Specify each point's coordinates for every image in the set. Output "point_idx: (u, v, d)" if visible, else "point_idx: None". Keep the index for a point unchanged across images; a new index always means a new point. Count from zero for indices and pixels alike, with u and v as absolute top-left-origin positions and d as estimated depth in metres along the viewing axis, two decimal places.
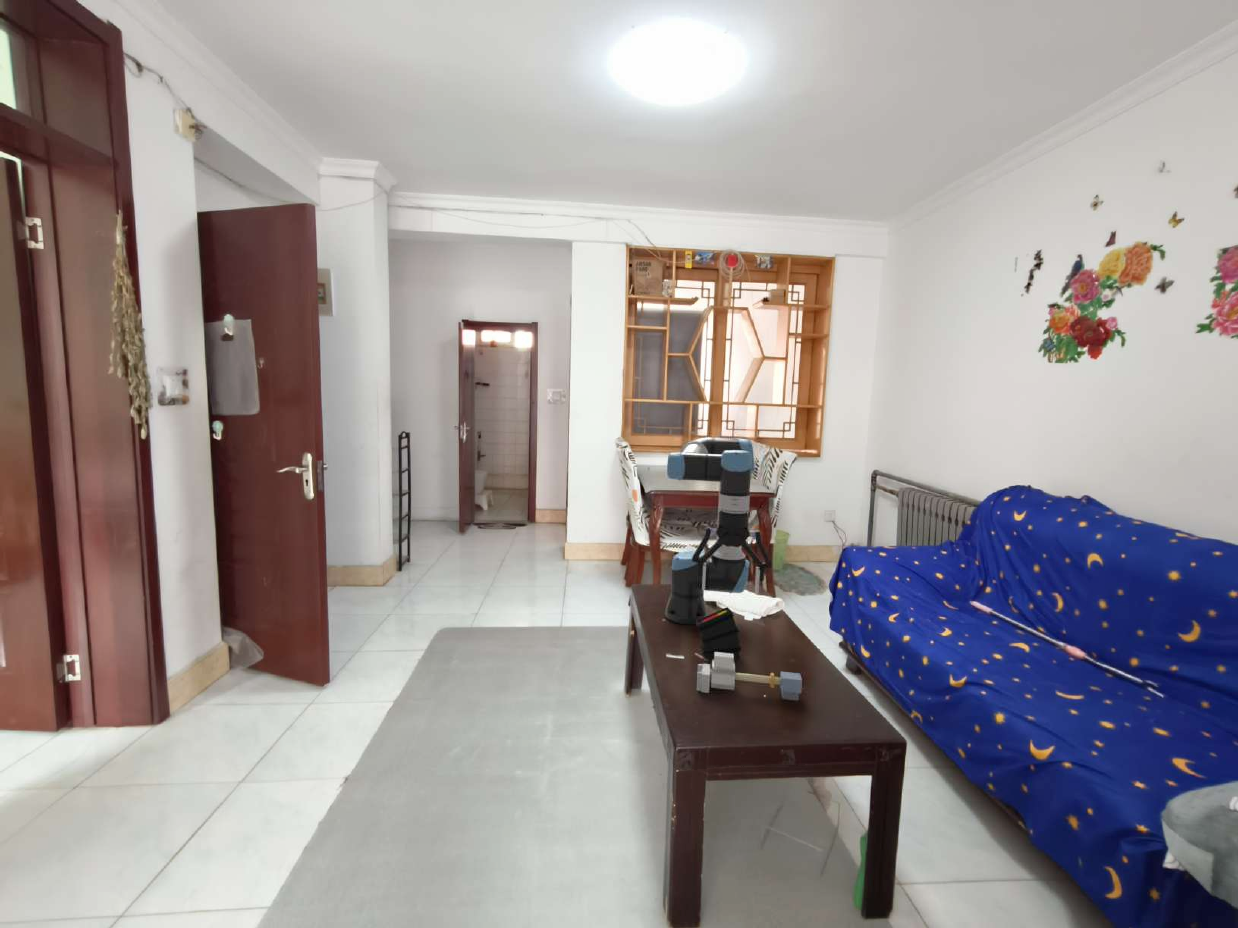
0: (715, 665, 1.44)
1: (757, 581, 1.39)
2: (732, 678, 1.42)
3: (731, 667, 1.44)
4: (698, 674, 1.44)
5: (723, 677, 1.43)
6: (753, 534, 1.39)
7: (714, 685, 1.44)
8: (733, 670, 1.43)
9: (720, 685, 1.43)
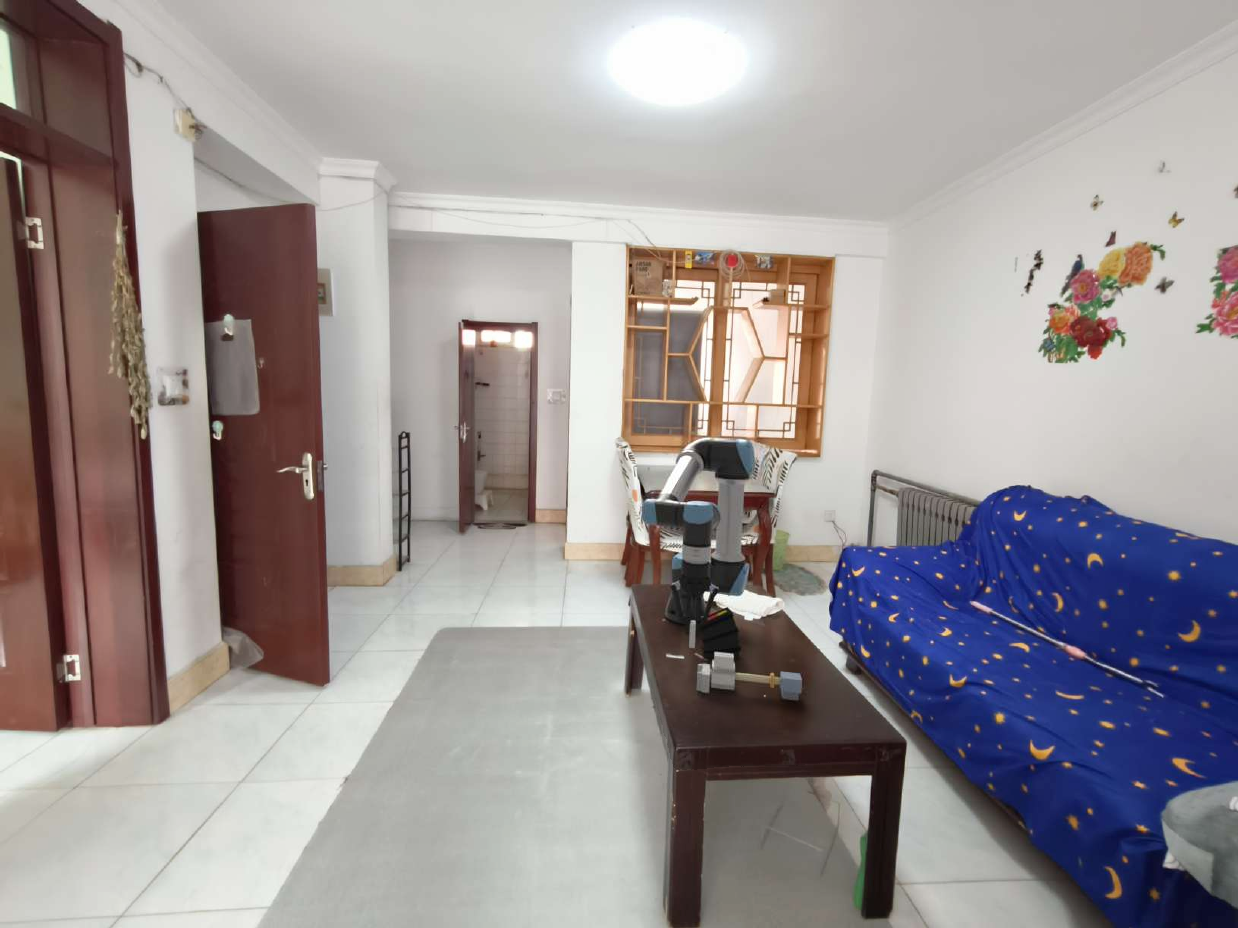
0: (715, 665, 1.44)
1: (693, 635, 1.44)
2: (732, 678, 1.42)
3: (731, 667, 1.44)
4: (698, 674, 1.44)
5: (723, 677, 1.43)
6: (712, 588, 1.43)
7: (714, 685, 1.44)
8: (733, 670, 1.43)
9: (720, 685, 1.43)
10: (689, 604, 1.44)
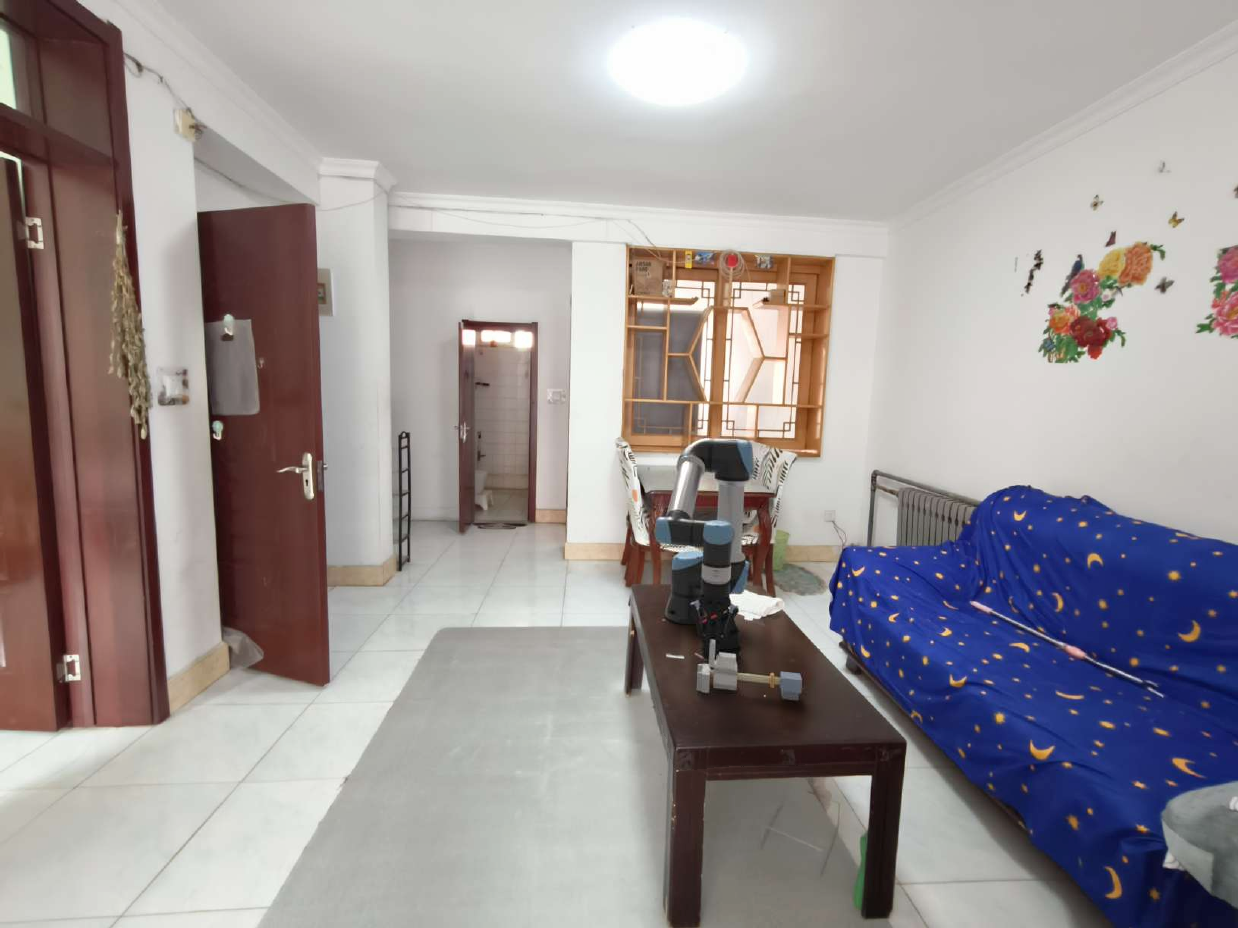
0: (717, 665, 1.44)
1: (713, 654, 1.44)
2: (734, 678, 1.42)
3: (733, 667, 1.44)
4: (698, 674, 1.44)
5: (725, 677, 1.43)
6: (732, 608, 1.43)
7: (717, 685, 1.43)
8: (735, 670, 1.43)
9: (722, 685, 1.43)
10: (709, 624, 1.43)
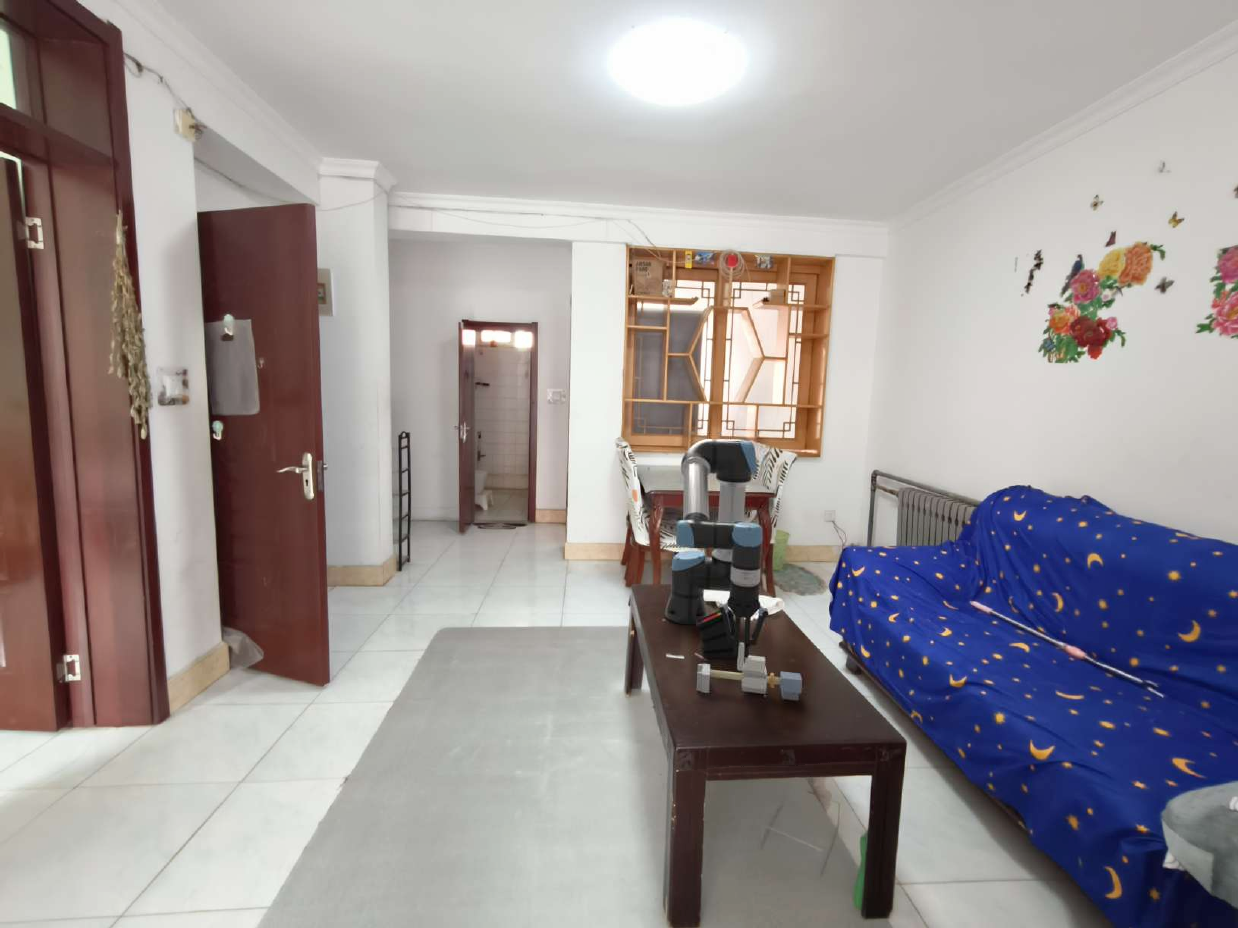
0: (746, 668, 1.43)
1: (742, 658, 1.43)
2: (764, 682, 1.41)
3: (763, 670, 1.42)
4: (698, 674, 1.44)
5: (755, 681, 1.41)
6: (761, 610, 1.41)
7: (746, 689, 1.42)
8: (765, 674, 1.41)
9: (751, 689, 1.42)
10: (738, 627, 1.42)
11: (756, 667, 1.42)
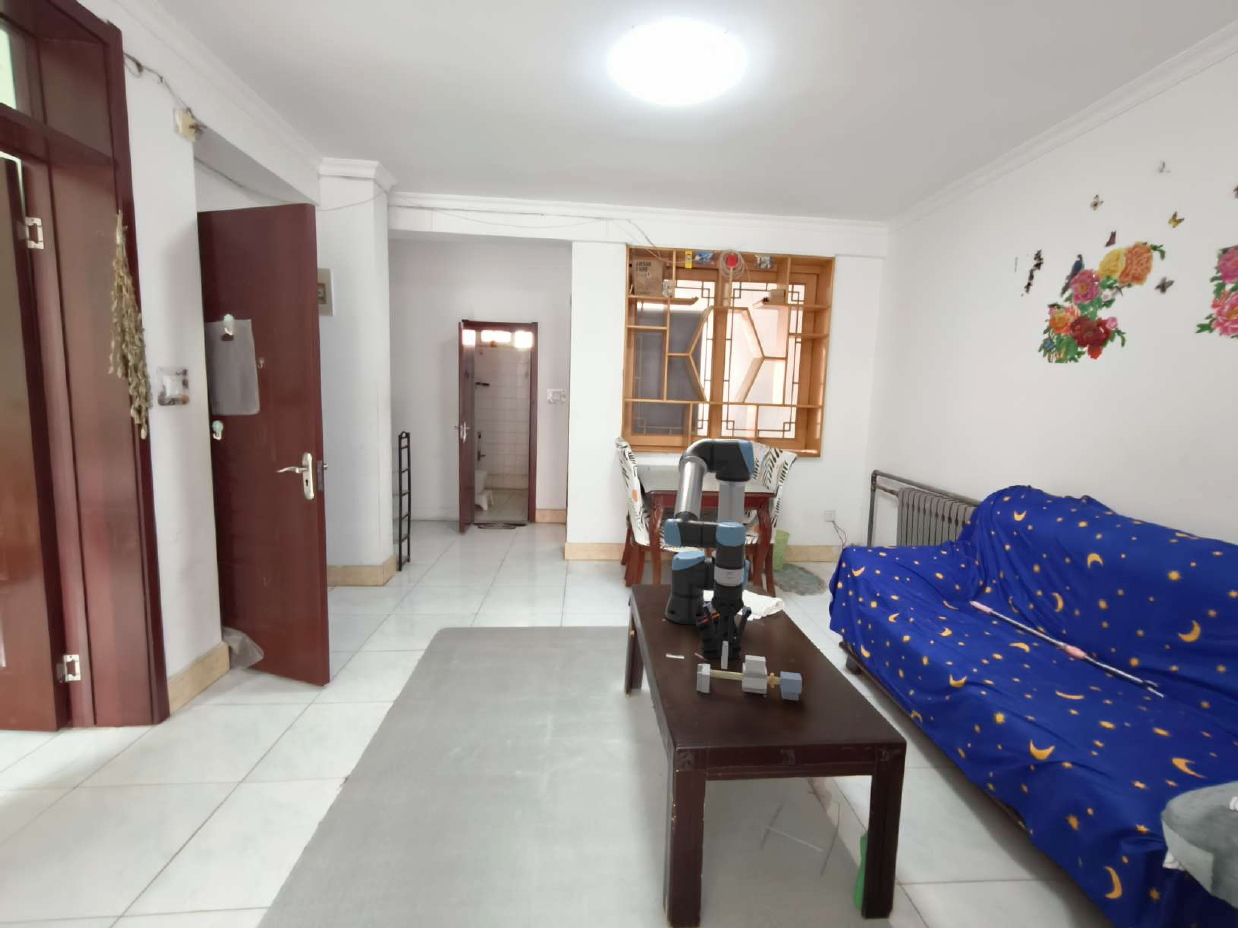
0: (746, 668, 1.43)
1: (726, 656, 1.44)
2: (764, 682, 1.41)
3: (763, 671, 1.42)
4: (698, 674, 1.44)
5: (755, 681, 1.41)
6: (745, 609, 1.42)
7: (746, 689, 1.42)
8: (765, 674, 1.41)
9: (752, 689, 1.42)
10: (722, 625, 1.43)
11: (756, 667, 1.42)
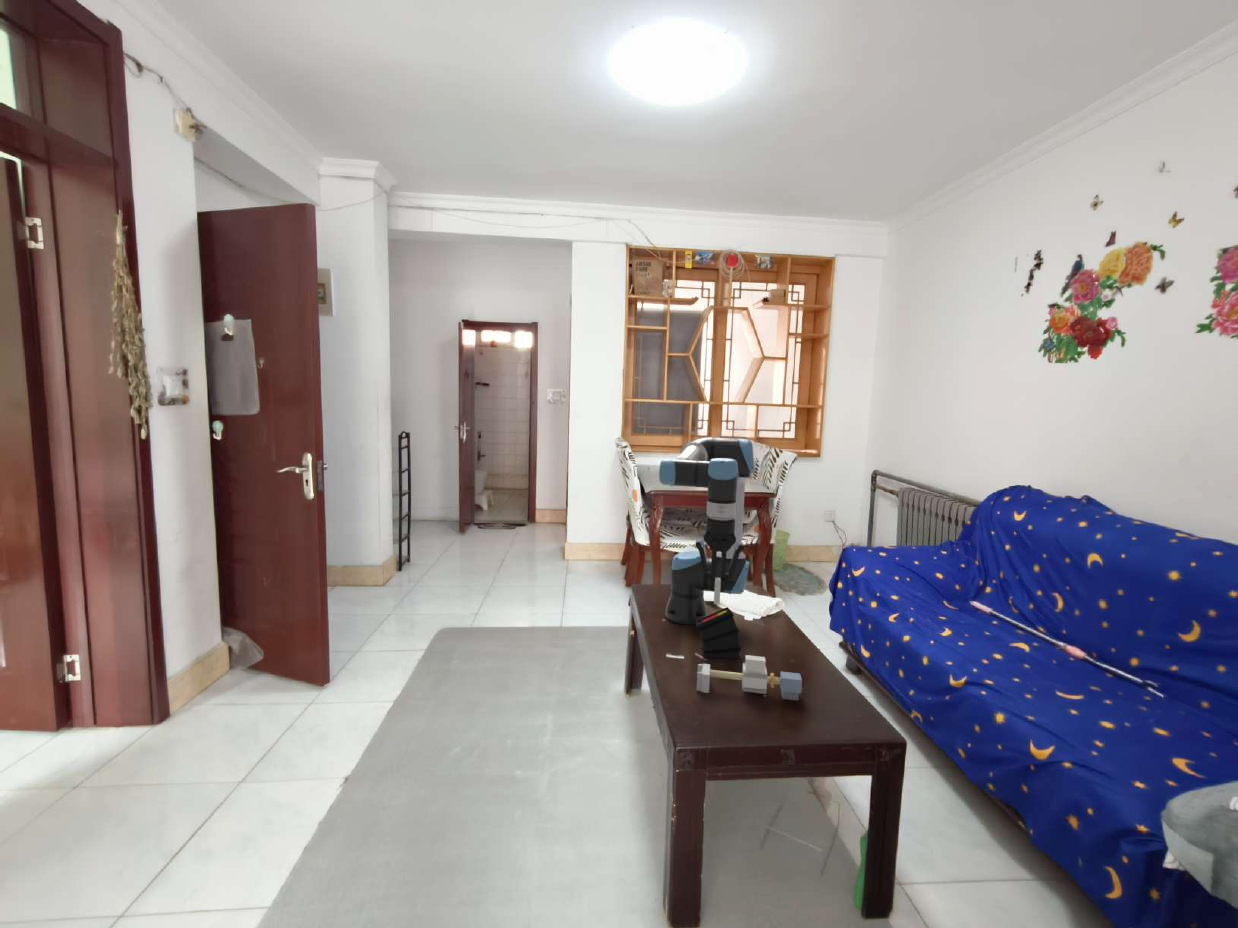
0: (746, 668, 1.43)
1: (718, 592, 1.44)
2: (764, 682, 1.41)
3: (763, 671, 1.42)
4: (698, 674, 1.44)
5: (755, 681, 1.41)
6: (737, 544, 1.43)
7: (746, 689, 1.42)
8: (765, 674, 1.41)
9: (752, 689, 1.42)
10: (714, 561, 1.44)
11: (756, 667, 1.42)
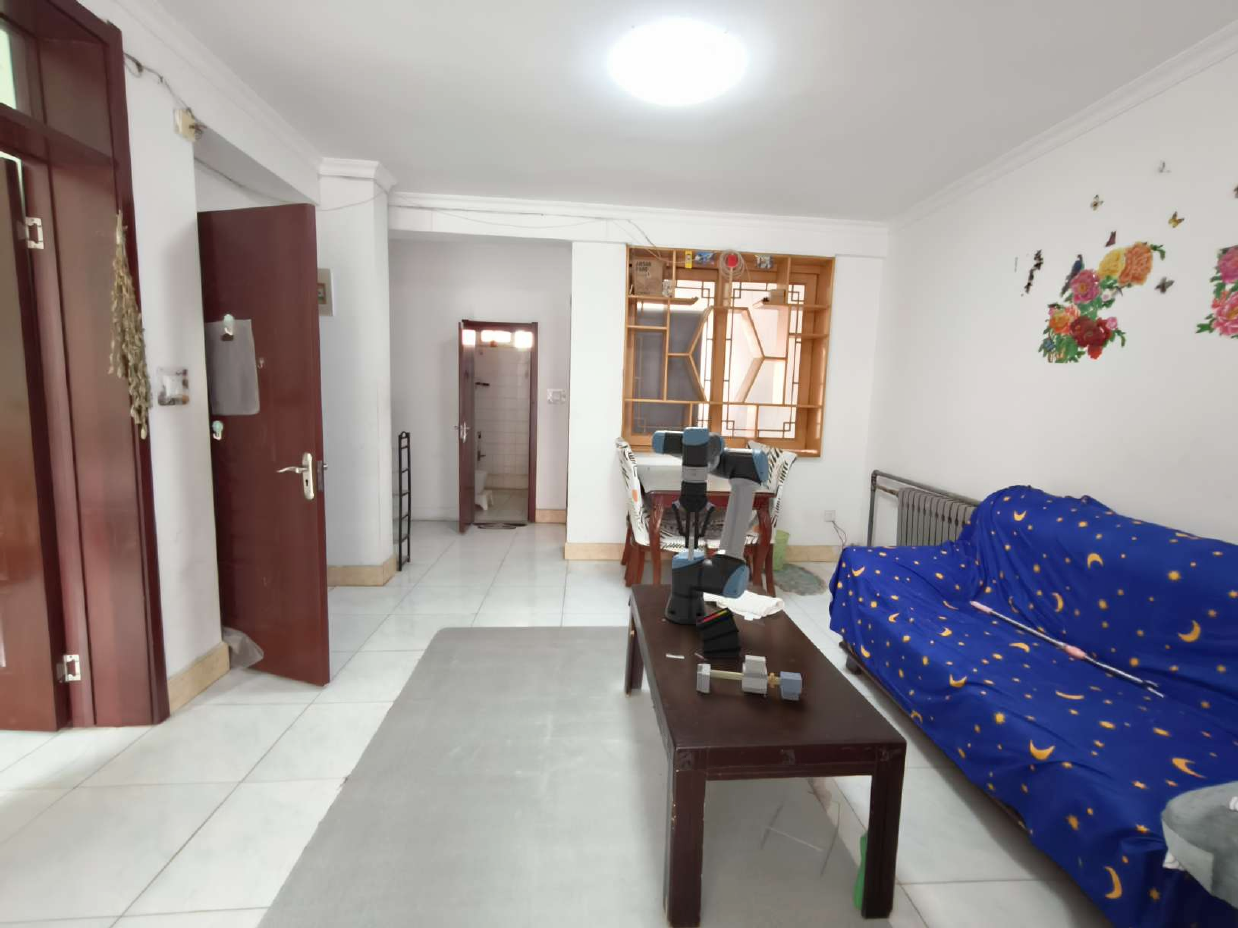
0: (746, 668, 1.43)
1: (692, 549, 1.58)
2: (764, 682, 1.41)
3: (763, 671, 1.42)
4: (698, 674, 1.44)
5: (755, 681, 1.41)
6: (709, 505, 1.57)
7: (746, 689, 1.42)
8: (765, 674, 1.41)
9: (752, 689, 1.42)
10: (688, 521, 1.58)
11: (756, 667, 1.42)
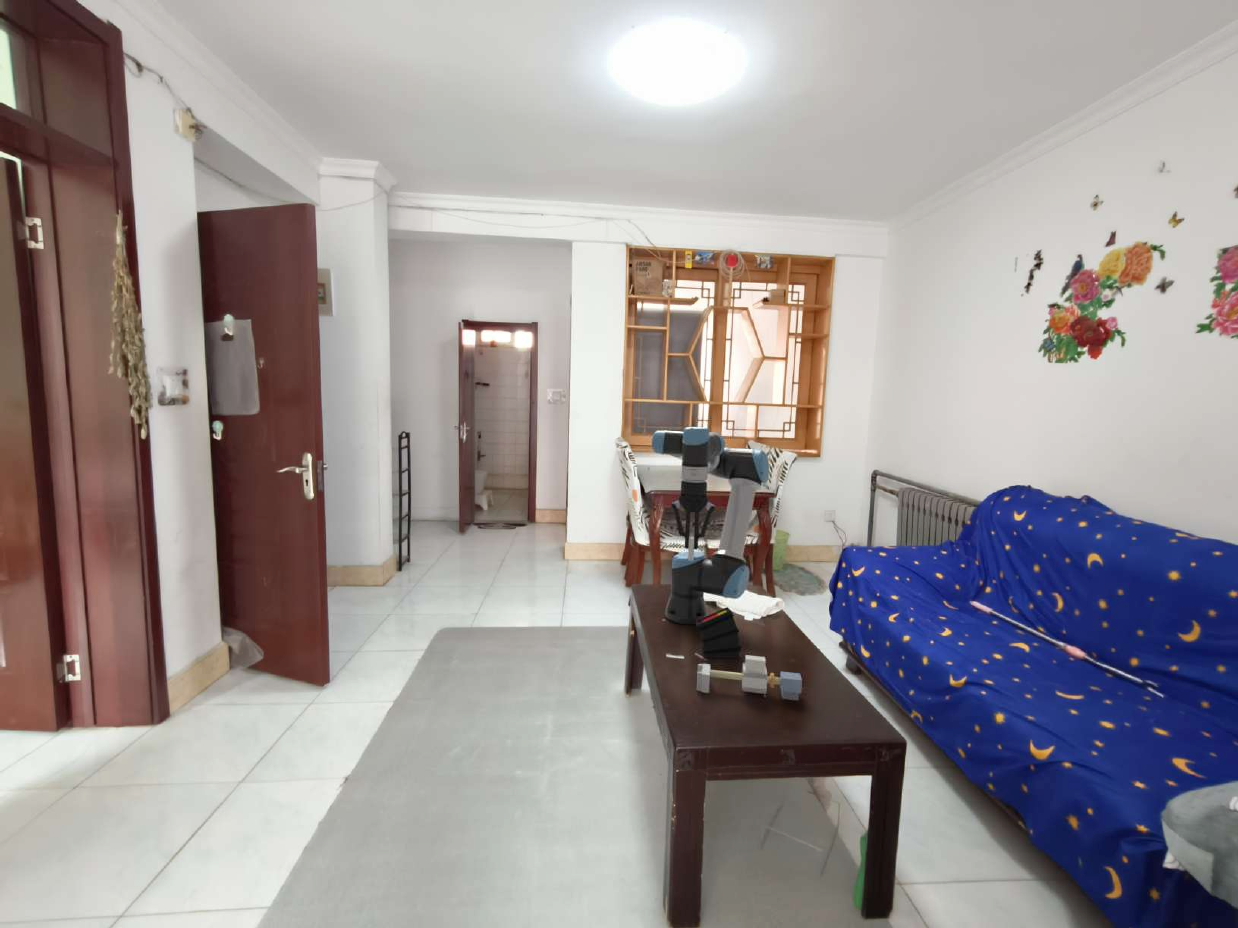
0: (746, 668, 1.43)
1: (692, 549, 1.58)
2: (764, 682, 1.41)
3: (763, 671, 1.42)
4: (698, 674, 1.44)
5: (755, 681, 1.41)
6: (709, 505, 1.57)
7: (746, 689, 1.42)
8: (765, 674, 1.41)
9: (752, 689, 1.42)
10: (688, 521, 1.58)
11: (756, 667, 1.42)
